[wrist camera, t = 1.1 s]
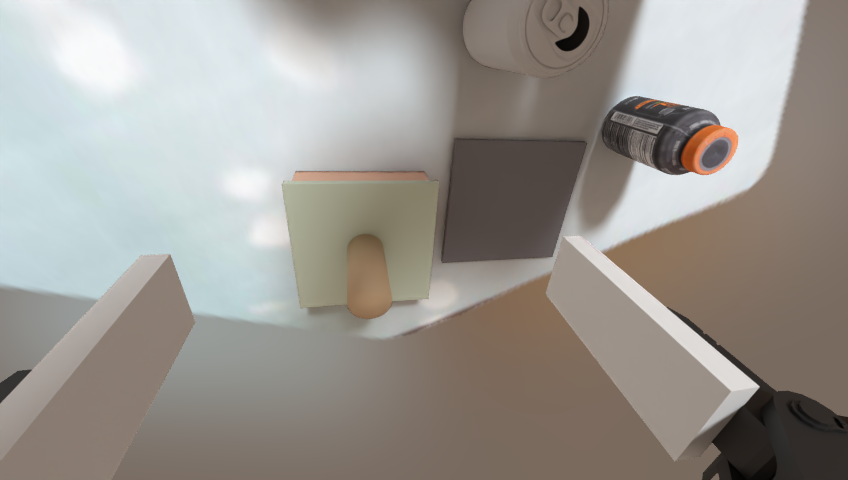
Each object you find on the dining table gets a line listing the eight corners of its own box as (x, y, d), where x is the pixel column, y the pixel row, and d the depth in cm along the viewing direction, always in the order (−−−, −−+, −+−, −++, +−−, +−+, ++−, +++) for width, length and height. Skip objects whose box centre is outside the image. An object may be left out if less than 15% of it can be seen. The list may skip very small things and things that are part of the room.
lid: (283, 181, 30) (261, 228, 23) (437, 180, 33) (463, 222, 25) (301, 303, 37) (289, 369, 30) (427, 294, 40) (445, 353, 32)
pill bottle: (659, 99, 37) (766, 121, 28) (635, 152, 40) (724, 189, 31) (613, 92, 36) (710, 112, 26) (591, 147, 39) (671, 184, 29)
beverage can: (499, 80, 33) (565, 99, 23) (446, 39, 30) (495, 40, 20) (541, 14, 31) (636, 3, 21) (488, -37, 28) (567, -77, 18)
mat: (454, 138, 35) (456, 140, 35) (583, 141, 38) (587, 142, 38) (441, 259, 43) (442, 262, 42) (550, 254, 46) (552, 256, 45)
